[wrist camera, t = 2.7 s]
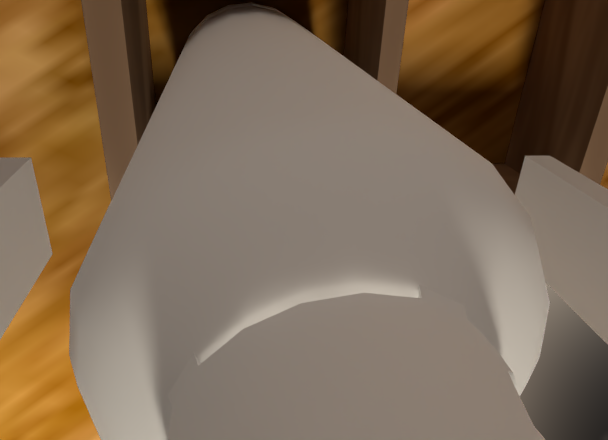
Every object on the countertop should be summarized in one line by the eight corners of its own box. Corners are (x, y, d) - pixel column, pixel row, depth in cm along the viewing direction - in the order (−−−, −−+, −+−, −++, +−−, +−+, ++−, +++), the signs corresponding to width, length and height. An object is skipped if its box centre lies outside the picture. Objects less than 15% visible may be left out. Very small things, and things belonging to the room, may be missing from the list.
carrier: (138, 189, 30) (118, 246, 24) (107, -69, 24) (69, -82, 18) (519, 183, 34) (583, 229, 28) (578, -40, 28) (679, -43, 22)
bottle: (331, 123, 30) (799, 785, 6) (207, 160, 30) (146, 993, 6) (299, -16, 26) (1320, 199, 2) (156, 25, 26) (-741, 832, 2)
